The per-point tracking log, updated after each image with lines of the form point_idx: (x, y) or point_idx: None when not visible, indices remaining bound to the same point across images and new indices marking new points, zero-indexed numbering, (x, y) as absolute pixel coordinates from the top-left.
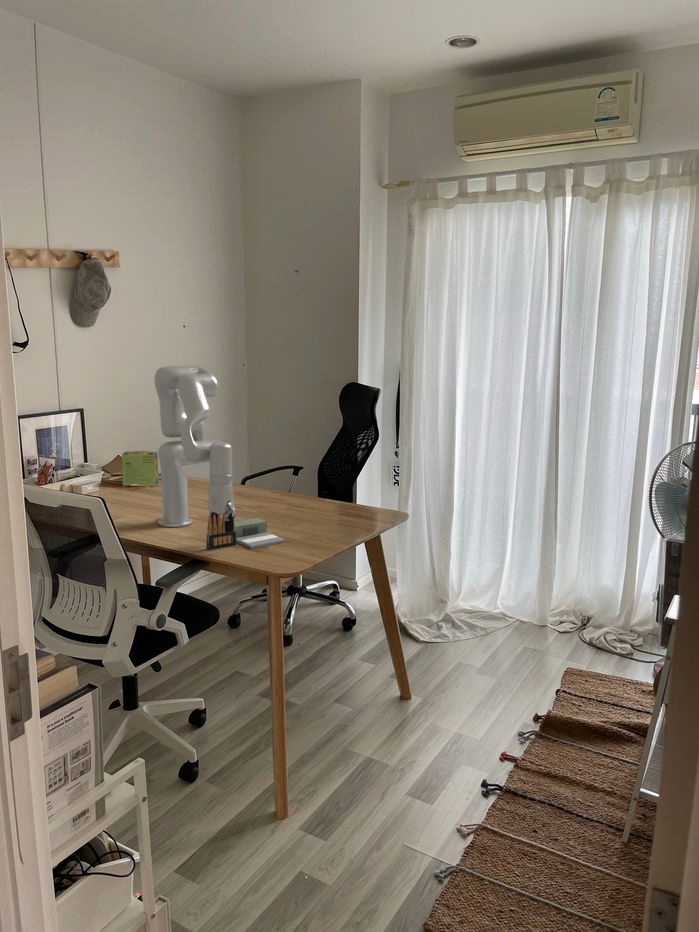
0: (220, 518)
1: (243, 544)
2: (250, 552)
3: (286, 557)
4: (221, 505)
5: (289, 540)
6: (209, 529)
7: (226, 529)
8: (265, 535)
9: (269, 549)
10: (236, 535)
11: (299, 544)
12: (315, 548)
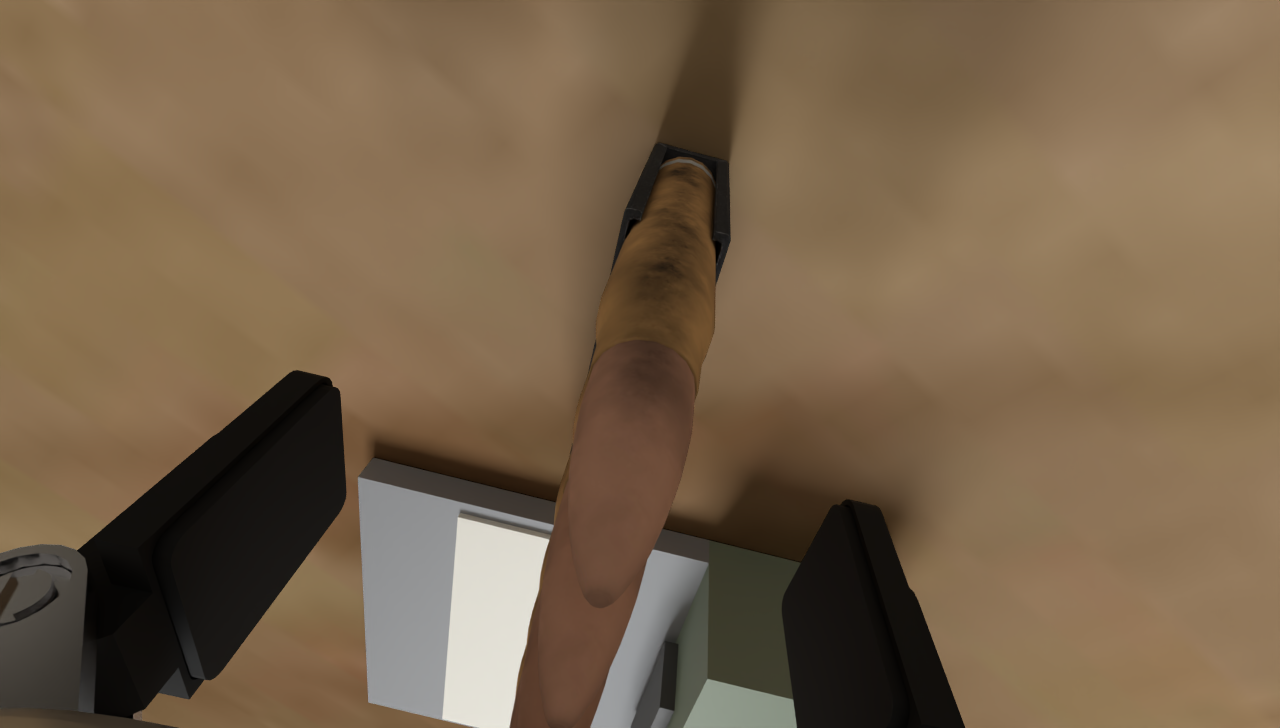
0: (527, 663)
1: (516, 500)
2: None
3: (6, 453)
4: None
5: (404, 714)
6: (619, 268)
7: (267, 413)
8: None
9: None
10: (697, 605)
11: (284, 686)
12: None
